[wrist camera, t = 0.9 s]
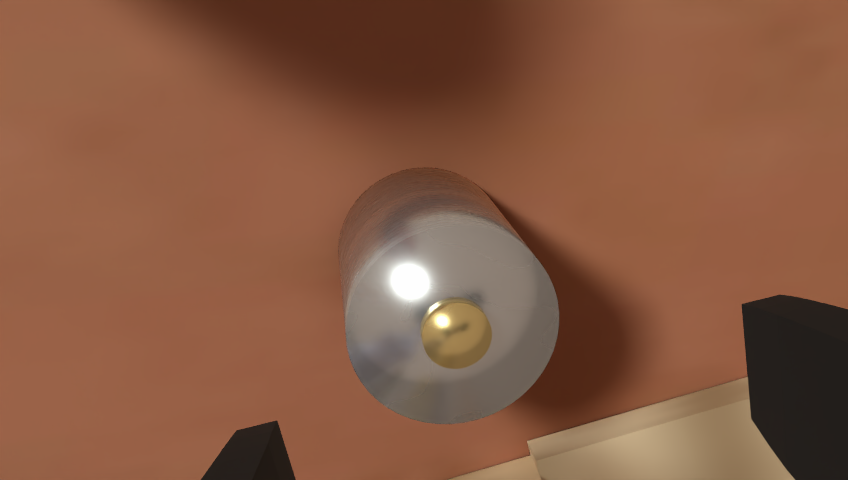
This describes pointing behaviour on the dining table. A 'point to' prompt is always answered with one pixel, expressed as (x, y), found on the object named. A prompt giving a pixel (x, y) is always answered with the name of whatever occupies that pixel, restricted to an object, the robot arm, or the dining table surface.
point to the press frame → (655, 444)
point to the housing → (442, 299)
